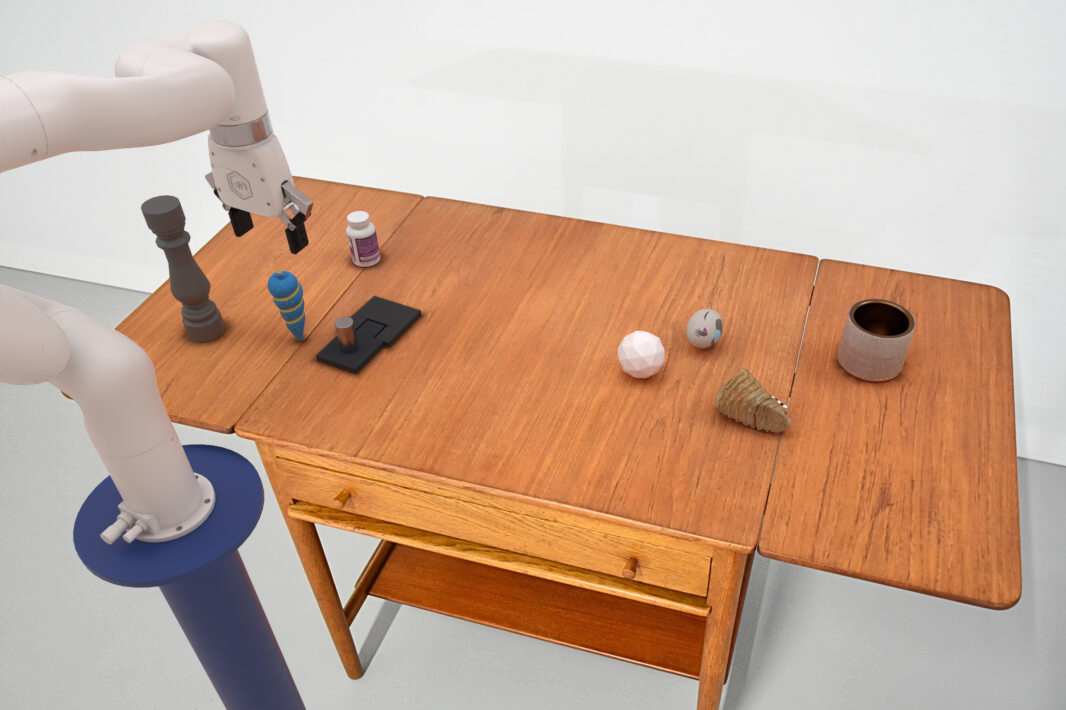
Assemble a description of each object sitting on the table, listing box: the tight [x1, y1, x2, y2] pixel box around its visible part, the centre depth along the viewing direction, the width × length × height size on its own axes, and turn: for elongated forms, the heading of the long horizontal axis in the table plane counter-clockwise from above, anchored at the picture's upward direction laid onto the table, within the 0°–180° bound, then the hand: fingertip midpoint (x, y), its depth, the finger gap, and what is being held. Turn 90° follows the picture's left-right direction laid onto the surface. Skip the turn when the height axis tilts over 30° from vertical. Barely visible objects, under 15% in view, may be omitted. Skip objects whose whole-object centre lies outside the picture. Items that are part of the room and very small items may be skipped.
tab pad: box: [315, 316, 385, 375], centre depth 151 cm, size 12×8×7 cm
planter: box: [837, 298, 917, 382], centre depth 149 cm, size 11×11×10 cm
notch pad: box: [349, 295, 423, 349], centre depth 157 cm, size 10×10×1 cm
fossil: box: [715, 367, 792, 433], centre depth 141 cm, size 12×6×9 cm
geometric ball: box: [617, 330, 666, 379], centre depth 147 cm, size 8×8×8 cm
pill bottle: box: [345, 210, 381, 268], centre depth 169 cm, size 5×5×10 cm
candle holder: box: [140, 194, 226, 344], centre depth 147 cm, size 6×6×25 cm
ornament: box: [267, 269, 306, 342], centre depth 149 cm, size 5×5×15 cm
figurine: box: [685, 306, 724, 349], centre depth 152 cm, size 8×6×7 cm
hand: (272, 240), depth 126 cm, fingers open, 9 cm apart
